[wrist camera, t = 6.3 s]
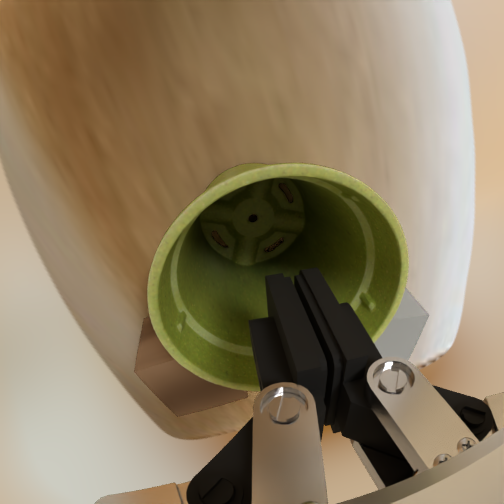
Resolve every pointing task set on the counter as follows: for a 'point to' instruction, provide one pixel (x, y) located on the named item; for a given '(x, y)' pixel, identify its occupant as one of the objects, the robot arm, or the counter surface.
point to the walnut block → (177, 378)
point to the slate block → (403, 329)
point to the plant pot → (270, 261)
